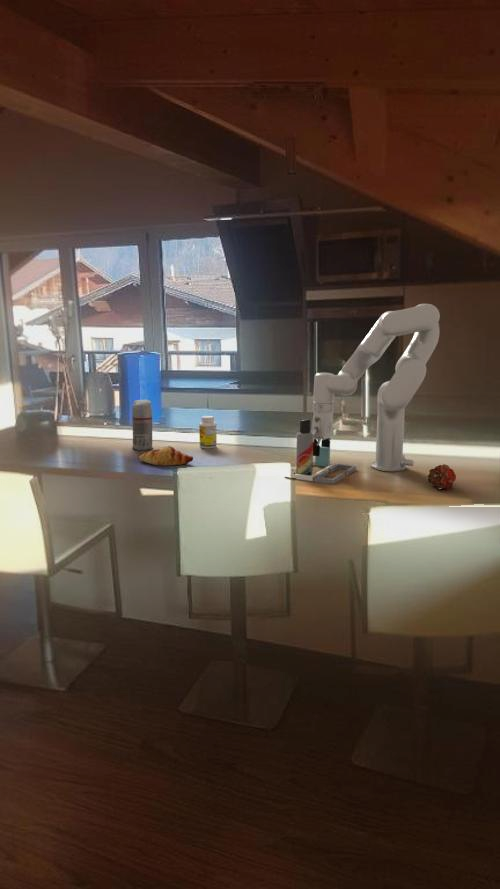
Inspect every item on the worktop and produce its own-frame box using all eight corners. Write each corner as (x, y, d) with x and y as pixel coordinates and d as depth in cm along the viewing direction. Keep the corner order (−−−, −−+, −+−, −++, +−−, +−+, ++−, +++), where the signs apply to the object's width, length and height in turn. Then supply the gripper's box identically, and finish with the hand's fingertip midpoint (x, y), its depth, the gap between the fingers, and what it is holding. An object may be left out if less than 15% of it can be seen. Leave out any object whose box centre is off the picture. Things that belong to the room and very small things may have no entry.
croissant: (137, 472, 252) (132, 456, 247) (145, 455, 259) (140, 439, 254) (191, 474, 247) (187, 458, 242) (198, 456, 255) (194, 440, 250)
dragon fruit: (436, 497, 213) (439, 493, 224) (460, 484, 210) (462, 480, 222) (421, 474, 214) (425, 471, 226) (445, 461, 212) (448, 458, 223)
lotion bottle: (307, 479, 229) (308, 421, 225) (293, 476, 232) (293, 419, 228) (315, 475, 234) (316, 418, 230) (300, 473, 237) (301, 417, 233)
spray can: (157, 447, 277) (156, 399, 273) (144, 451, 270) (142, 402, 266) (142, 445, 282) (140, 398, 277) (128, 449, 275) (126, 400, 271)
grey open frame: (355, 469, 242) (356, 465, 241) (333, 484, 223) (333, 479, 222) (337, 467, 245) (337, 463, 245) (313, 481, 226) (313, 477, 226)
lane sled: (336, 467, 245) (337, 448, 244) (312, 481, 226) (312, 460, 225) (310, 463, 250) (310, 445, 249) (284, 477, 231) (284, 457, 230)
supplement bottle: (198, 445, 281) (198, 415, 279) (215, 445, 283) (215, 414, 280) (200, 449, 275) (200, 418, 272) (217, 448, 276) (217, 417, 273)
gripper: (323, 411, 233) (320, 459, 237) (341, 405, 248) (338, 450, 252) (303, 409, 237) (301, 456, 240) (322, 403, 252) (319, 447, 255)
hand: (320, 453), depth 246 cm, fingers open, 9 cm apart
